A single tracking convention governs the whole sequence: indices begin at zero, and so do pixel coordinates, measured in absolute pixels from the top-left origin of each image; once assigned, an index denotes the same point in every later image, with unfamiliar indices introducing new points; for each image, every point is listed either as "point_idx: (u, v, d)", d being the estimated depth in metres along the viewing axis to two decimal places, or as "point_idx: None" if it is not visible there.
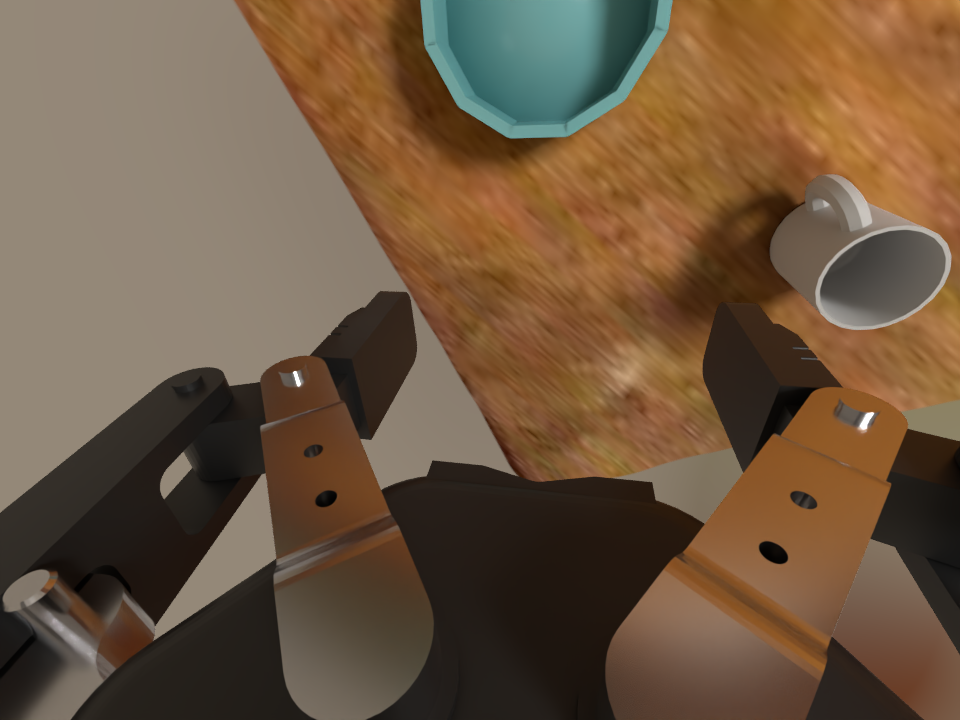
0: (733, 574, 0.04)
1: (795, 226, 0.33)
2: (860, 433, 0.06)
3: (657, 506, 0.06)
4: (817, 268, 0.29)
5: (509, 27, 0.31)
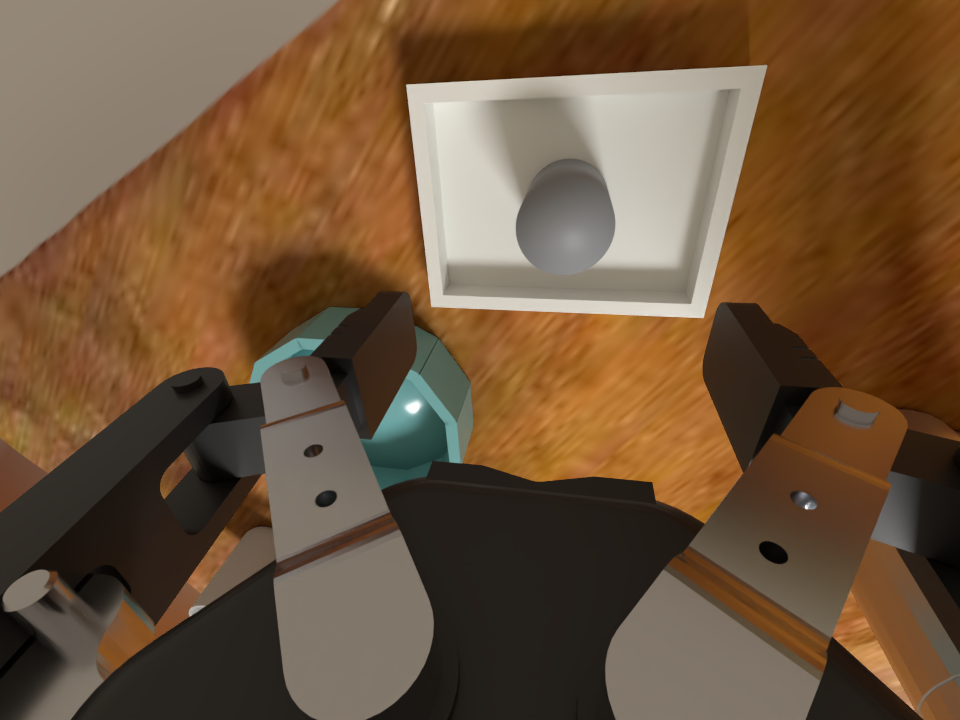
0: (733, 574, 0.04)
1: (268, 551, 0.46)
2: (860, 433, 0.06)
3: (657, 506, 0.06)
4: None
5: None
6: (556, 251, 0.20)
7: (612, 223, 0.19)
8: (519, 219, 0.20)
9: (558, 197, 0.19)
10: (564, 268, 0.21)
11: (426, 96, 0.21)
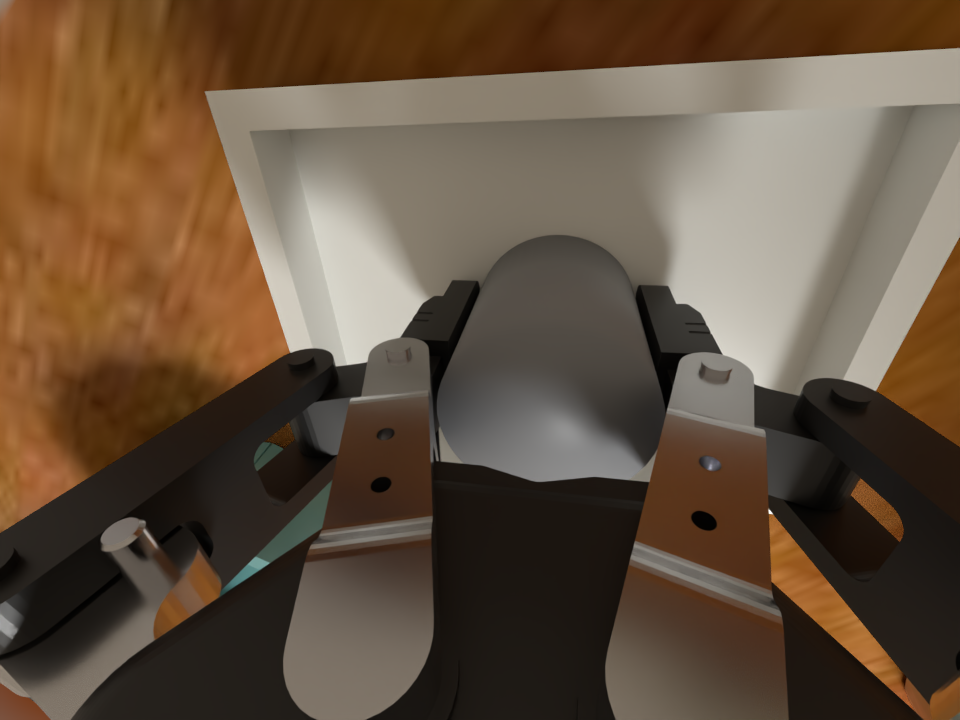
0: (733, 574, 0.04)
1: None
2: (710, 387, 0.07)
3: None
4: None
5: None
6: (529, 459, 0.09)
7: (658, 421, 0.08)
8: (443, 399, 0.09)
9: (529, 364, 0.08)
10: None
11: (250, 116, 0.10)
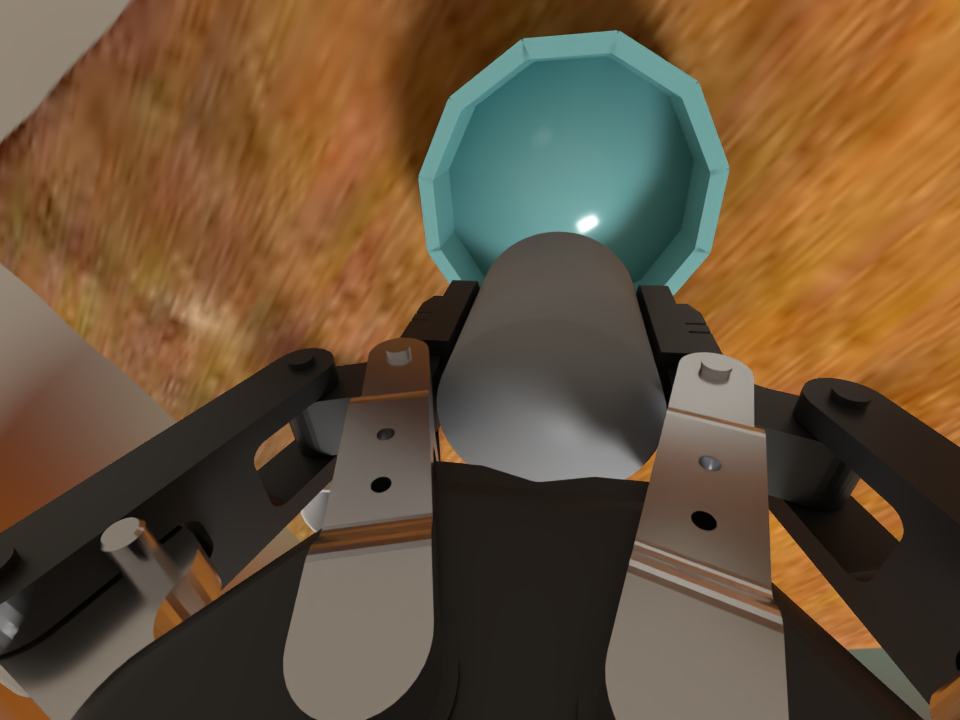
0: (733, 574, 0.04)
1: None
2: (710, 387, 0.07)
3: None
4: None
5: (546, 154, 0.25)
6: (530, 456, 0.09)
7: (659, 418, 0.08)
8: (443, 395, 0.09)
9: (529, 361, 0.08)
10: None
11: None
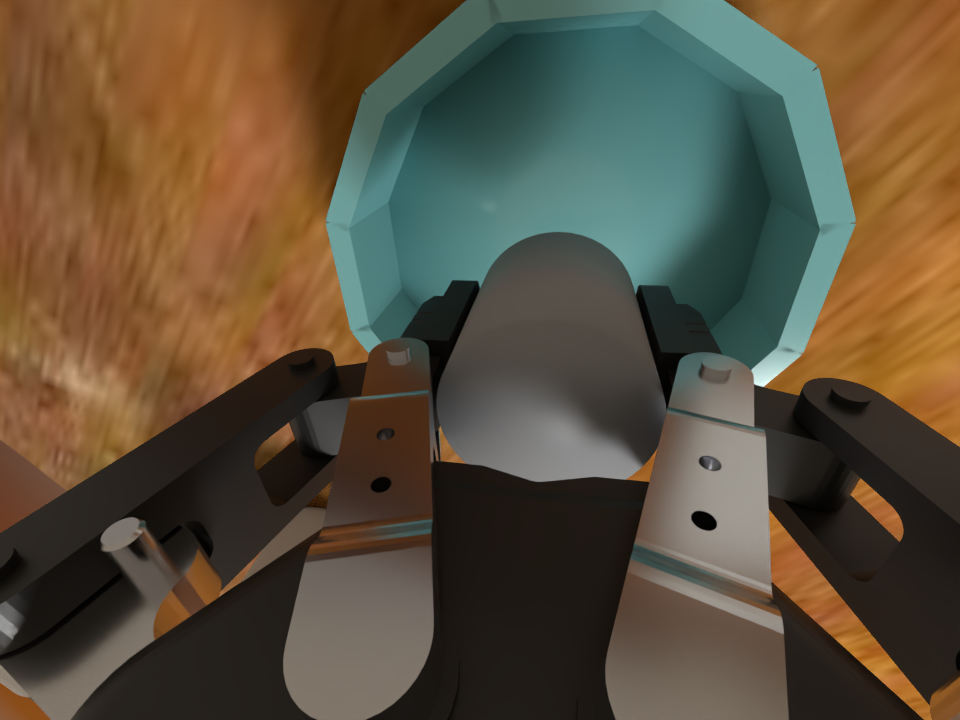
0: (733, 574, 0.04)
1: None
2: (710, 387, 0.07)
3: None
4: None
5: (536, 184, 0.16)
6: (529, 456, 0.09)
7: (658, 418, 0.08)
8: (443, 396, 0.09)
9: (529, 361, 0.08)
10: None
11: None
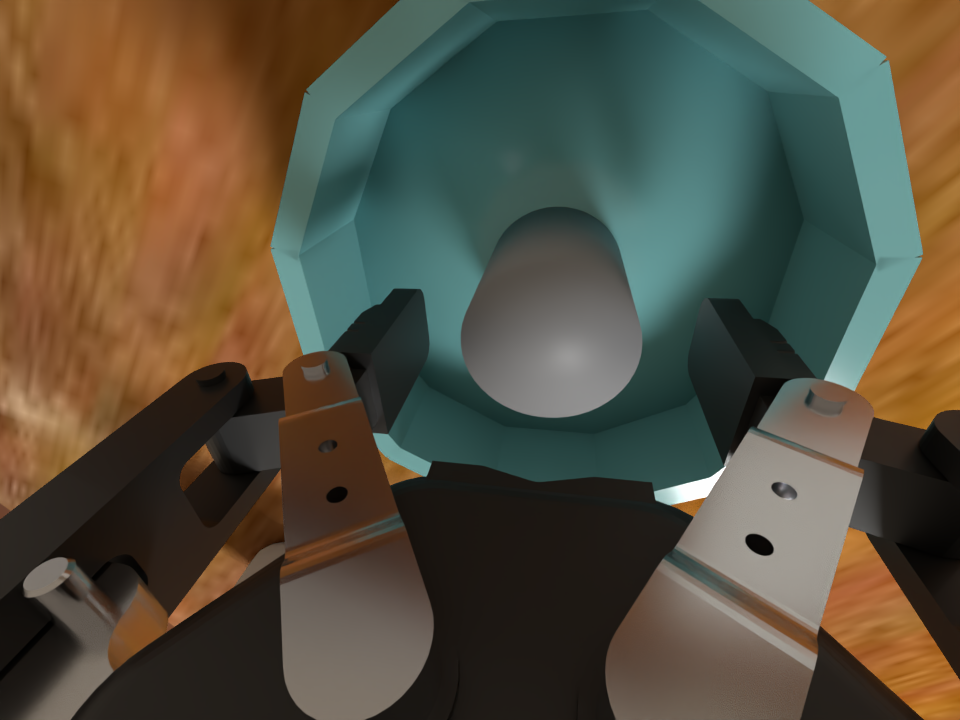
0: (733, 574, 0.04)
1: None
2: (827, 421, 0.07)
3: (657, 506, 0.06)
4: None
5: (525, 200, 0.14)
6: (534, 381, 0.11)
7: (636, 344, 0.10)
8: (466, 330, 0.11)
9: (534, 298, 0.10)
10: (549, 408, 0.12)
11: None
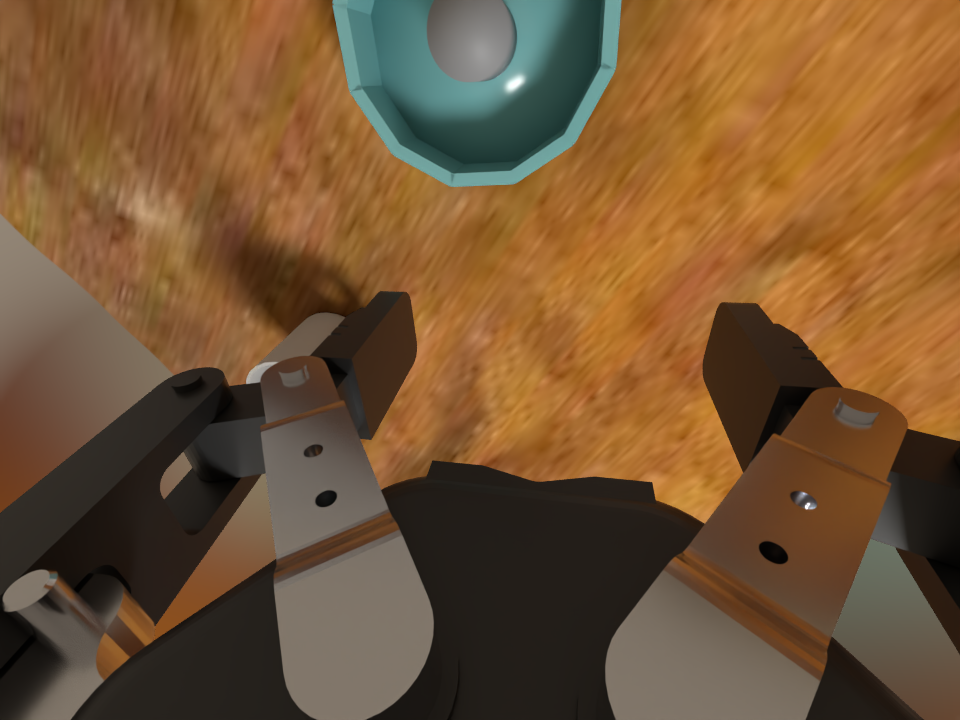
0: (733, 574, 0.04)
1: (333, 328, 0.39)
2: (860, 433, 0.06)
3: (657, 506, 0.06)
4: (284, 358, 0.34)
5: None
6: (463, 56, 0.24)
7: (506, 22, 0.23)
8: (429, 27, 0.23)
9: (458, 1, 0.22)
10: (472, 74, 0.24)
11: None
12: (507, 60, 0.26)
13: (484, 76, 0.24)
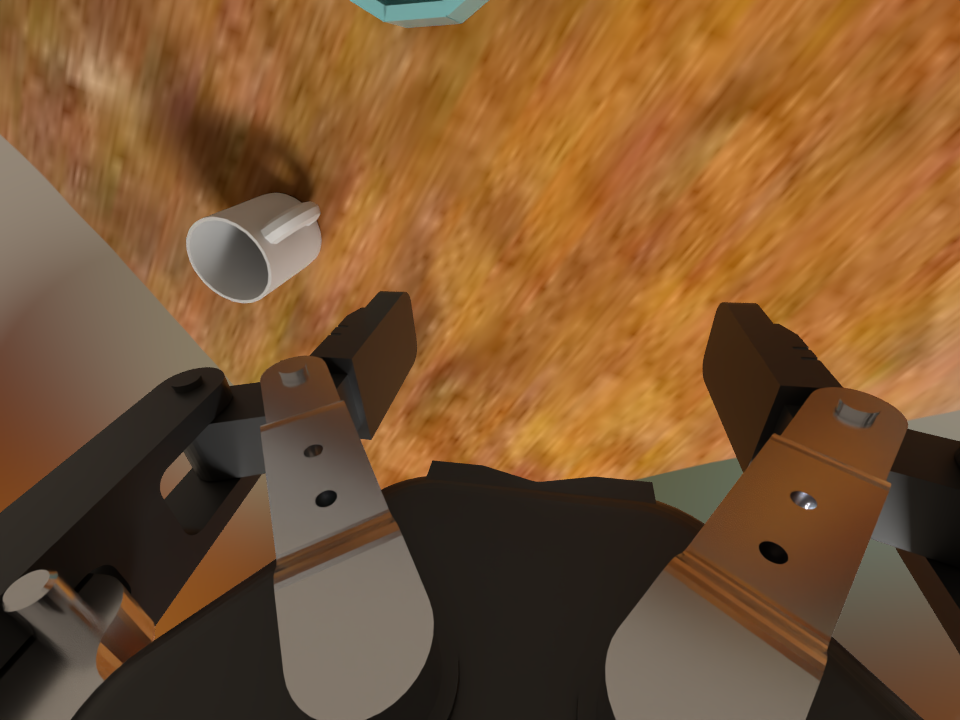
0: (733, 574, 0.04)
1: (280, 202, 0.39)
2: (860, 433, 0.06)
3: (657, 506, 0.06)
4: (223, 215, 0.34)
5: None
6: None
7: None
8: None
9: None
10: None
11: None
12: None
13: None
